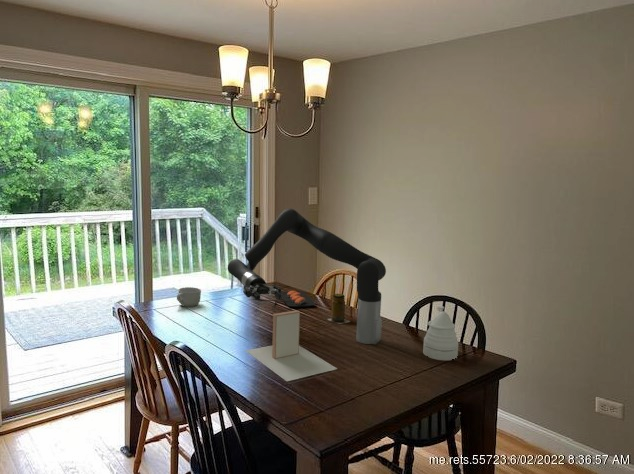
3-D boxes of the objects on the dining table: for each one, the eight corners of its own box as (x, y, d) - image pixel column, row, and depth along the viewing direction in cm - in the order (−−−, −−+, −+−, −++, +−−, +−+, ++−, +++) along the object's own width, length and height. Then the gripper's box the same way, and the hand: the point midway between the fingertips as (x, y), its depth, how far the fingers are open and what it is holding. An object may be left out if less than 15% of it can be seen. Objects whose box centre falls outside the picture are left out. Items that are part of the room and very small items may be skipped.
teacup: (191, 301, 243) (191, 285, 242) (205, 305, 237) (205, 289, 236) (168, 306, 232) (168, 290, 231) (182, 311, 225) (182, 294, 224)
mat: (245, 353, 177) (245, 350, 177) (292, 343, 188) (292, 341, 188) (286, 384, 152) (286, 381, 152) (337, 371, 163) (337, 368, 163)
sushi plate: (317, 308, 239) (317, 301, 239) (257, 311, 231) (257, 304, 230) (302, 293, 267) (302, 287, 266) (248, 296, 258) (248, 289, 258)
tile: (272, 357, 171) (273, 314, 169) (296, 352, 177) (297, 310, 174) (274, 359, 169) (275, 315, 167) (298, 354, 175) (300, 311, 173)
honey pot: (416, 349, 186) (419, 304, 184) (443, 346, 191) (446, 302, 189) (436, 362, 175) (440, 314, 172) (464, 358, 180) (468, 311, 177)
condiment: (338, 317, 225) (339, 292, 223) (351, 321, 218) (352, 296, 217) (326, 319, 220) (327, 294, 219) (339, 324, 214) (340, 298, 212)
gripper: (237, 274, 192) (253, 289, 178) (270, 273, 199) (287, 287, 185) (236, 292, 193) (251, 308, 180) (268, 290, 201) (285, 305, 187)
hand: (269, 297), depth 183 cm, fingers open, 8 cm apart
